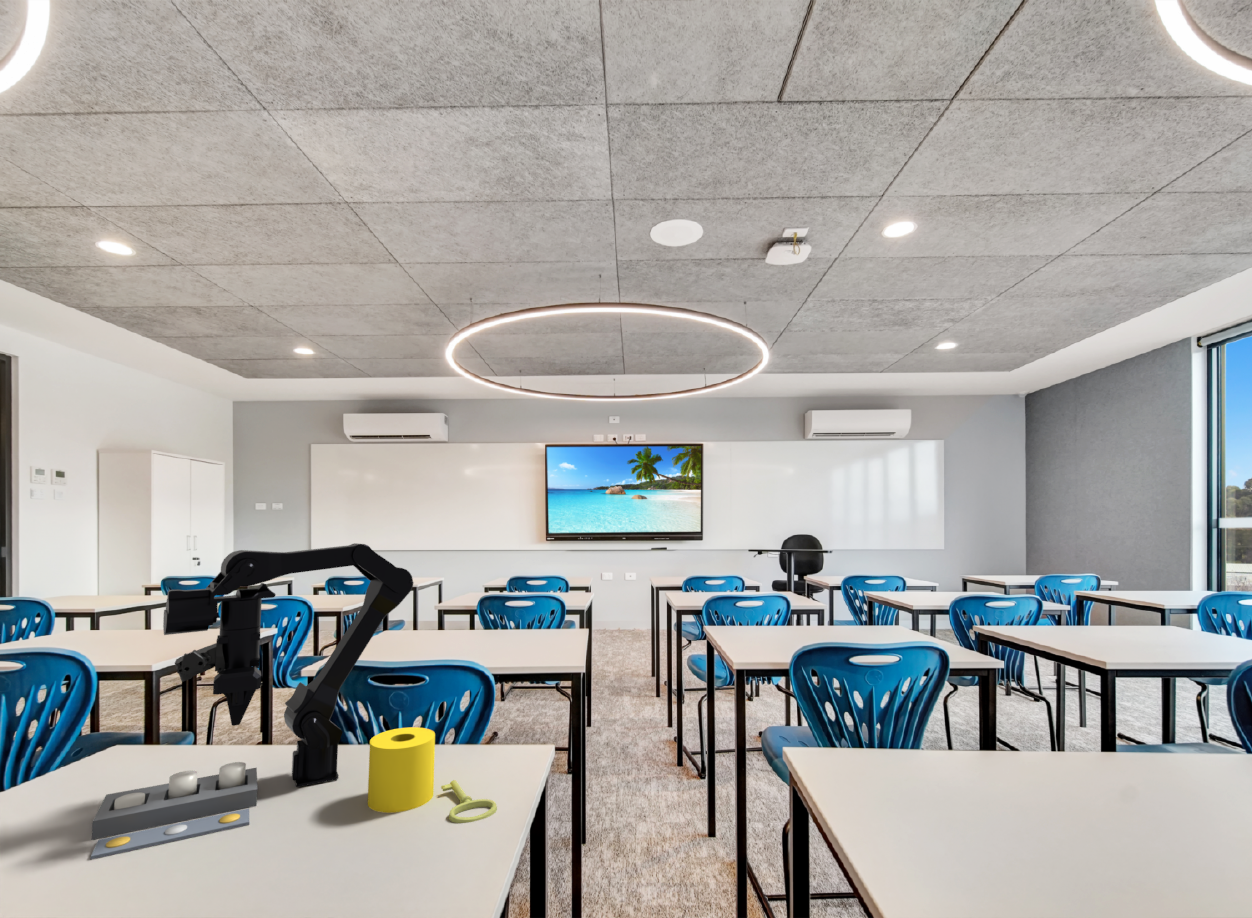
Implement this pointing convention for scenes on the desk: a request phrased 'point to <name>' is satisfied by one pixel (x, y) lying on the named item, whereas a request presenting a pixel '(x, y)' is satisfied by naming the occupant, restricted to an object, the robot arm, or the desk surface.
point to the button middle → (182, 784)
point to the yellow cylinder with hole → (401, 769)
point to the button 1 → (129, 800)
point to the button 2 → (232, 775)
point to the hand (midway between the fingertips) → (235, 724)
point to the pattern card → (170, 833)
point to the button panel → (173, 805)
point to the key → (468, 805)
